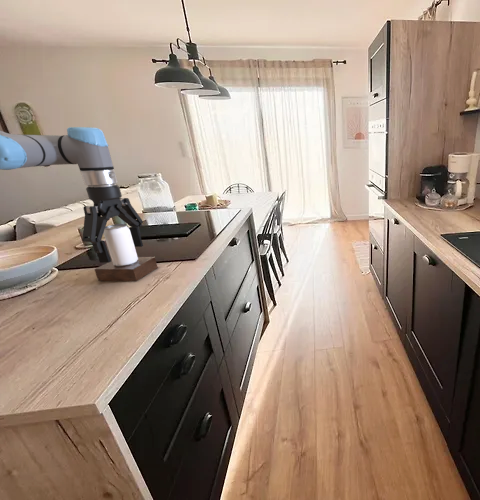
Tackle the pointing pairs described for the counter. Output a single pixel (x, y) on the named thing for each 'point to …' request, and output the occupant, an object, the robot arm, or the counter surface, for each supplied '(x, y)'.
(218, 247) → the counter surface
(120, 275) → the walnut block
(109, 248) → the can
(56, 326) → the counter surface
